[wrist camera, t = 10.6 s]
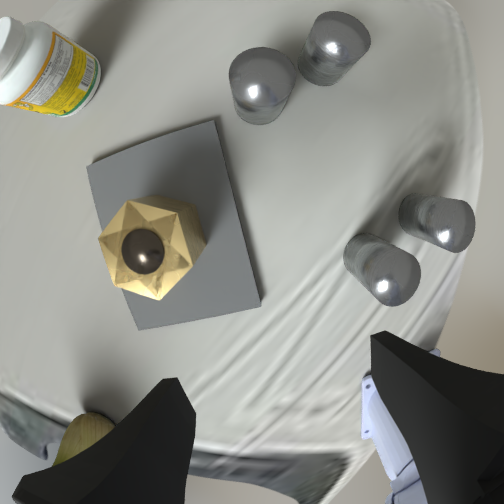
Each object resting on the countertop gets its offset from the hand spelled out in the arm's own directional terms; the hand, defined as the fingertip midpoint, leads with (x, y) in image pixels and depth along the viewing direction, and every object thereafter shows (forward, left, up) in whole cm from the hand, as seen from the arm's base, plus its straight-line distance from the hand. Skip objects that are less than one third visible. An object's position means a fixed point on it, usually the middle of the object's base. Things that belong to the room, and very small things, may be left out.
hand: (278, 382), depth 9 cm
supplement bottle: (+18, +10, -10) cm, 23 cm away
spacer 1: (+12, -2, -9) cm, 15 cm away
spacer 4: (+2, -12, -9) cm, 15 cm away
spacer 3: (0, -7, -9) cm, 12 cm away
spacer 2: (+14, -7, -9) cm, 18 cm away
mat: (+5, +5, -9) cm, 12 cm away
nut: (+5, +5, -9) cm, 11 cm away
